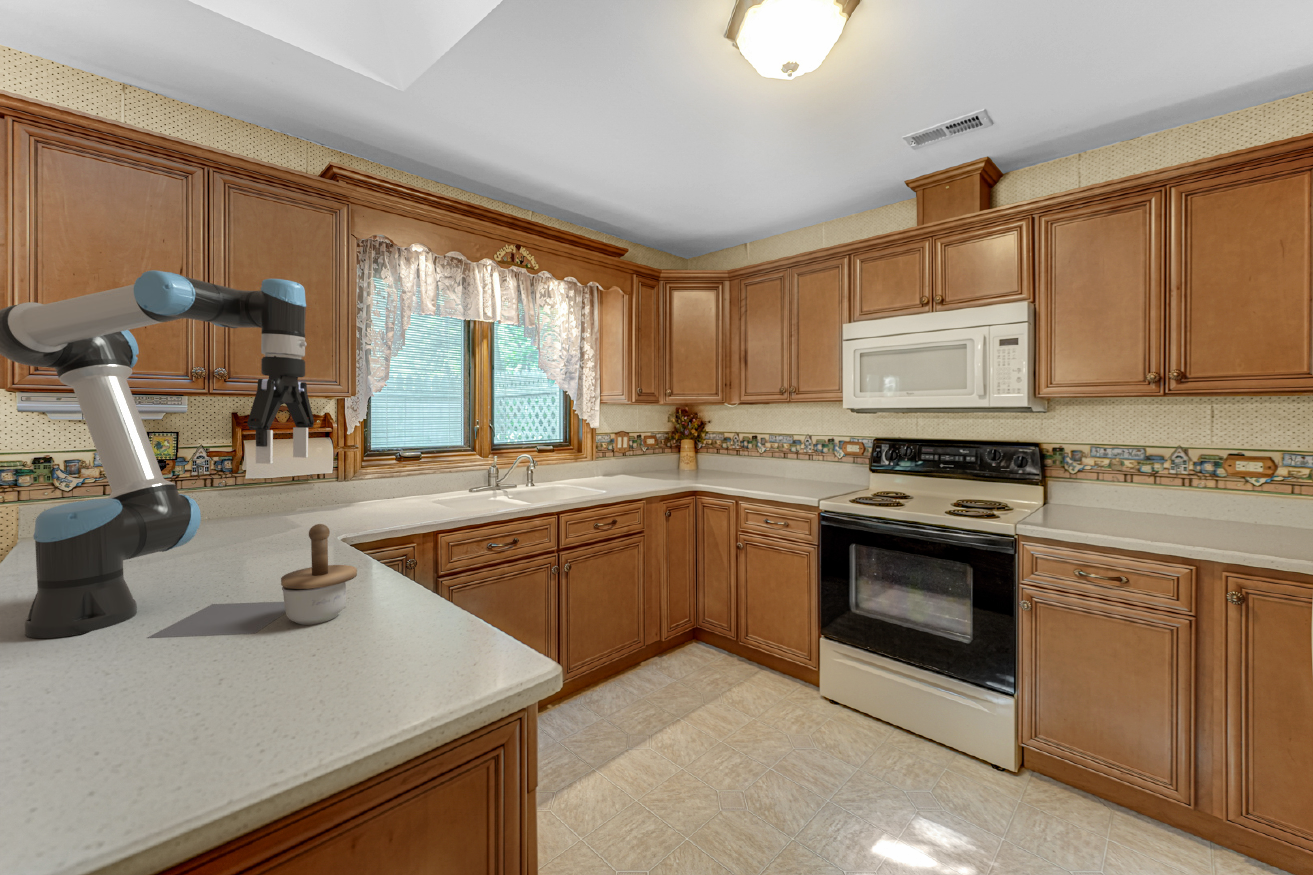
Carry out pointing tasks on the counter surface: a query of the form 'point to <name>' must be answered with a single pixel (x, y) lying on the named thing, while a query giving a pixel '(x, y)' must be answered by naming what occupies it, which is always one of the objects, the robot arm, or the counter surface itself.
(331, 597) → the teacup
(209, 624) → the mat
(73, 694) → the counter surface
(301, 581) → the lid
